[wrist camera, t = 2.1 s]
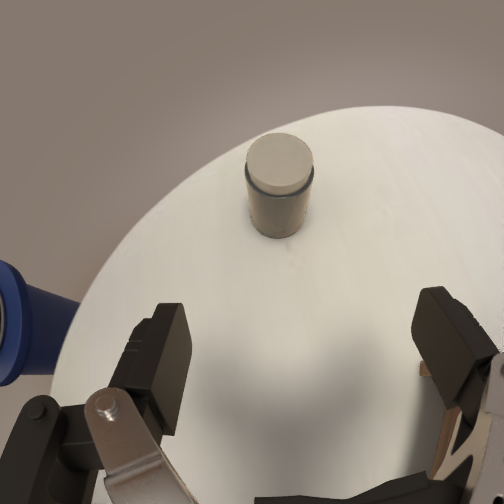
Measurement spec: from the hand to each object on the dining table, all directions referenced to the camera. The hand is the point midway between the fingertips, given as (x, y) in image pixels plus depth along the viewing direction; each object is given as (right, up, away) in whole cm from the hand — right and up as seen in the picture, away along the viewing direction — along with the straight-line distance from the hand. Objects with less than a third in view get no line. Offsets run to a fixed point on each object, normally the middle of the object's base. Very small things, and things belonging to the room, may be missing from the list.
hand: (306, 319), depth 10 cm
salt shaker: (0, +5, +16) cm, 17 cm away
